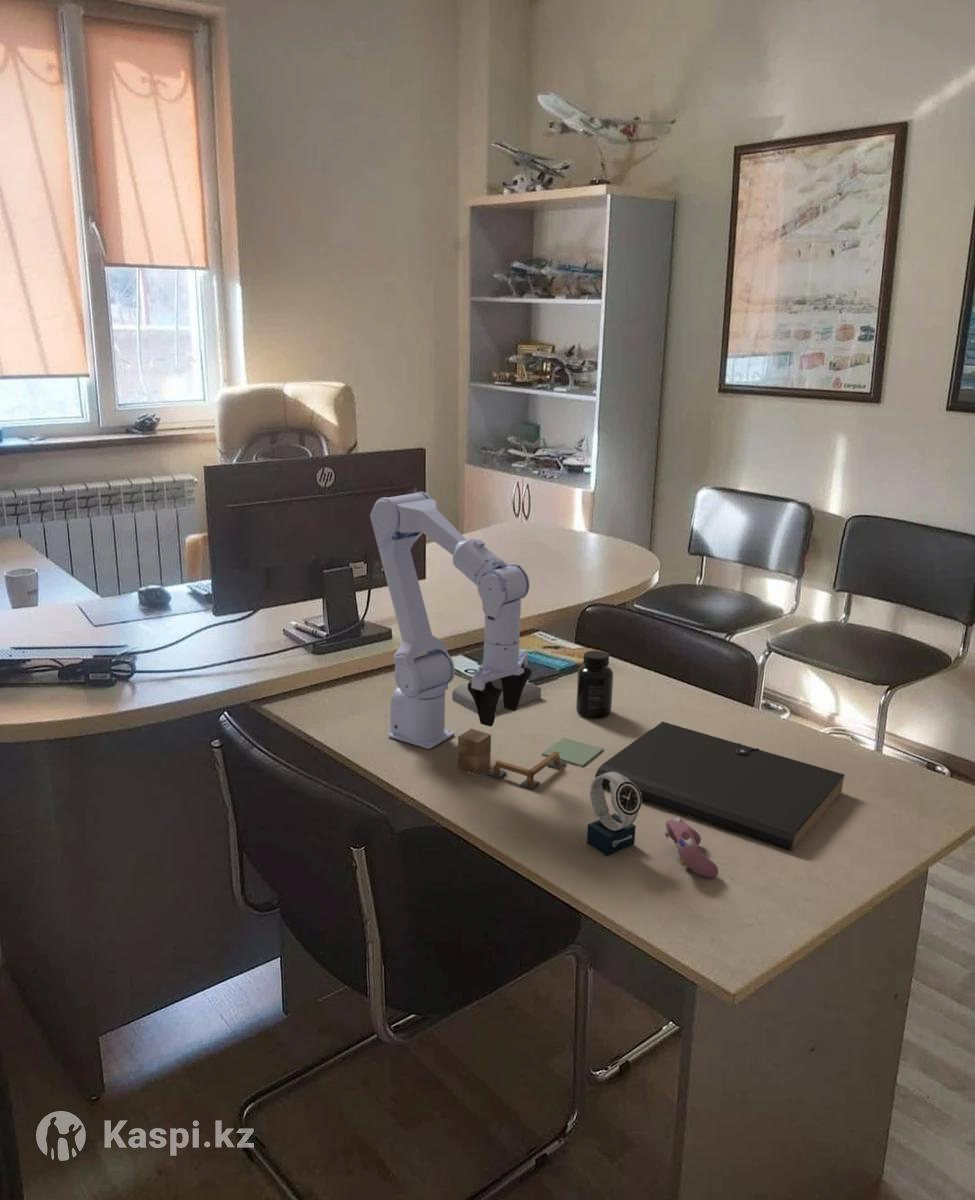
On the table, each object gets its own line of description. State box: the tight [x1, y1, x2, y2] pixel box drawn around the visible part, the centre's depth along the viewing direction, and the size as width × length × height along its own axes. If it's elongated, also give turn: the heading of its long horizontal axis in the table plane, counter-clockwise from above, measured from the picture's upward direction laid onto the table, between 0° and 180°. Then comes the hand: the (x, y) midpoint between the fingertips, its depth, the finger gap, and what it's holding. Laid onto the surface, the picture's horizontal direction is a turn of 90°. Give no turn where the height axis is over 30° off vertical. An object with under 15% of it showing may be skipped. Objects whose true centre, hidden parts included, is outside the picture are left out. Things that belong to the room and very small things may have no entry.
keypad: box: [451, 678, 542, 714], centre depth 195 cm, size 10×4×15 cm
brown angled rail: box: [486, 751, 567, 791], centre depth 166 cm, size 9×11×2 cm
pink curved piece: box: [663, 816, 719, 879], centre depth 139 cm, size 10×5×7 cm, turn 5°
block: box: [457, 728, 492, 776], centre depth 165 cm, size 4×4×6 cm
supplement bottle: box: [575, 650, 614, 720], centre depth 188 cm, size 7×7×12 cm
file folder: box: [594, 721, 846, 852], centre depth 161 cm, size 33×4×24 cm
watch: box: [586, 772, 643, 857], centre depth 142 cm, size 6×8×11 cm
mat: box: [541, 737, 604, 768], centre depth 173 cm, size 8×8×1 cm
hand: (498, 716), depth 163 cm, fingers open, 7 cm apart
